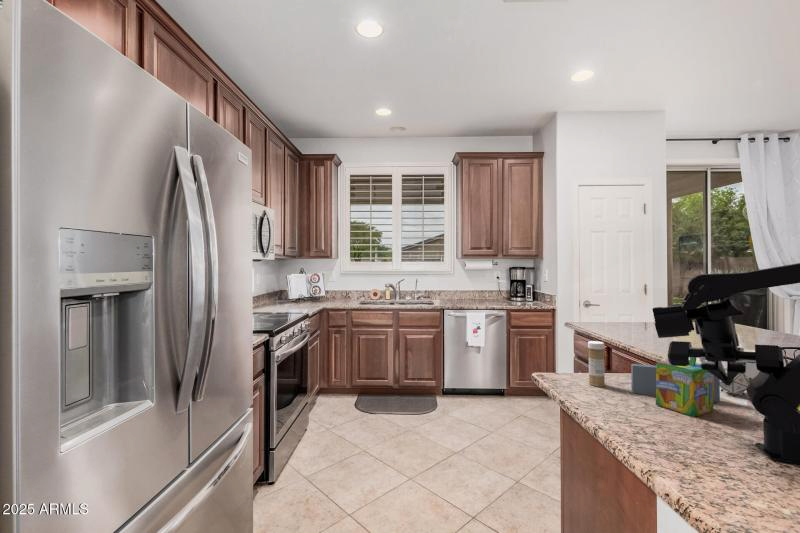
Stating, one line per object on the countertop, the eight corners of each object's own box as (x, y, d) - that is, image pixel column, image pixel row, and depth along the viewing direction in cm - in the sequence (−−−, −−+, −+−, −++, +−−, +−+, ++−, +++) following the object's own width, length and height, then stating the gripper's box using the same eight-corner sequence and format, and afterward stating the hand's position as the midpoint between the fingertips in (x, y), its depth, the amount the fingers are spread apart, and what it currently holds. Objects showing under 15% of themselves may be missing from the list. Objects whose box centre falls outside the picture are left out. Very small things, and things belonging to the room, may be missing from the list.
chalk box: (654, 405, 97) (654, 349, 97) (675, 400, 100) (674, 346, 101) (695, 418, 88) (694, 357, 88) (715, 411, 92) (714, 353, 92)
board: (719, 402, 98) (719, 372, 98) (633, 393, 106) (632, 365, 106) (716, 399, 100) (715, 370, 100) (631, 390, 108) (631, 363, 108)
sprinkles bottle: (603, 383, 115) (603, 341, 115) (605, 388, 111) (605, 343, 111) (587, 382, 117) (587, 340, 117) (589, 386, 113) (588, 342, 113)
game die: (742, 409, 103) (768, 387, 97) (710, 396, 105) (734, 375, 99) (730, 385, 110) (754, 364, 104) (700, 374, 112) (722, 353, 106)
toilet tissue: (707, 376, 122) (707, 346, 122) (748, 378, 120) (748, 347, 120) (731, 386, 111) (730, 354, 111) (776, 388, 109) (775, 355, 109)
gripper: (776, 306, 76) (785, 362, 80) (667, 307, 89) (680, 355, 94) (779, 342, 69) (789, 401, 74) (661, 337, 82) (675, 387, 87)
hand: (728, 383), depth 82 cm, fingers closed
